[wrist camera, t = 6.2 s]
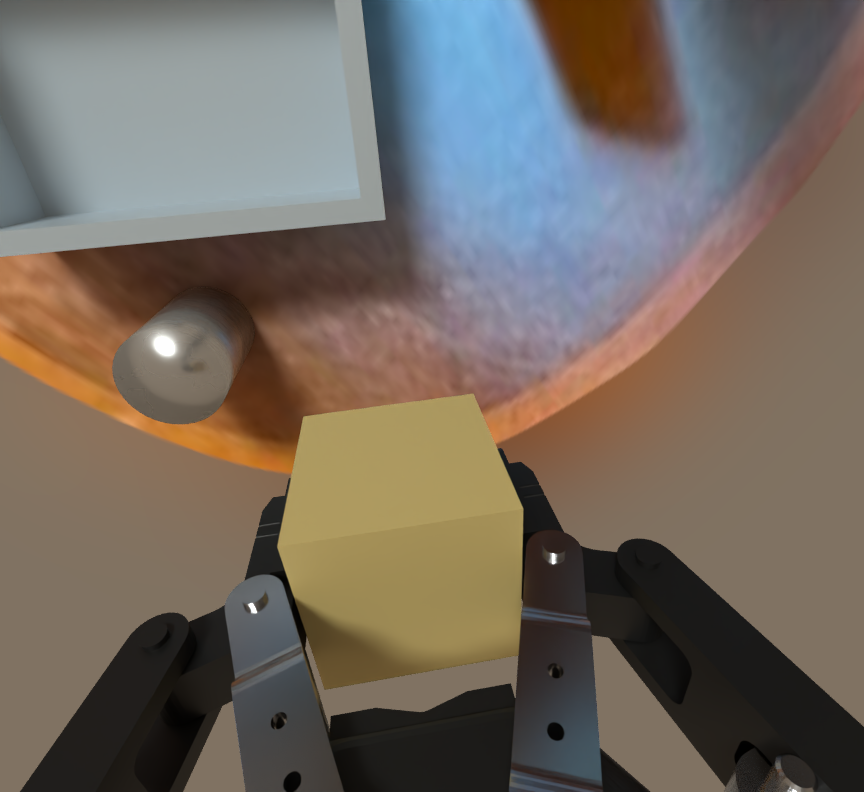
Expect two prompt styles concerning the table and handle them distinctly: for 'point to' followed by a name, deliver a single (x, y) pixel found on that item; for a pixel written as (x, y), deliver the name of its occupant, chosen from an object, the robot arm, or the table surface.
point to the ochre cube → (403, 541)
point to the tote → (182, 120)
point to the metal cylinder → (185, 356)
